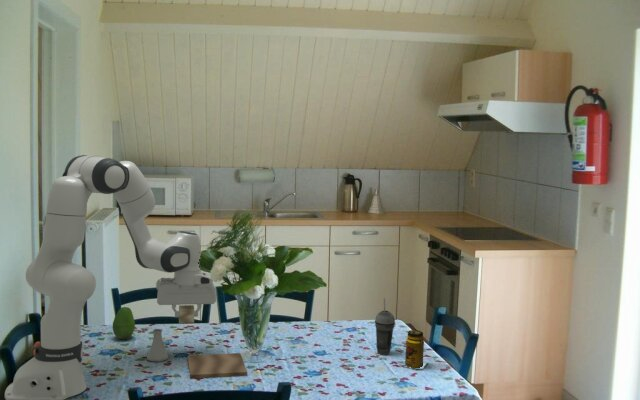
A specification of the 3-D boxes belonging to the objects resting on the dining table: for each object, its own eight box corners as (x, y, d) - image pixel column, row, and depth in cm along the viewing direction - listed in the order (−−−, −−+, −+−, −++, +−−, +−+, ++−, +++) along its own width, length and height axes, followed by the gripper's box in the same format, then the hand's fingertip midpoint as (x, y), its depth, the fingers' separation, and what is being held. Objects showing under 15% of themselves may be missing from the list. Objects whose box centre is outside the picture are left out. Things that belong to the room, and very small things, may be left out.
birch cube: (179, 323, 237) (179, 309, 236) (178, 319, 242) (179, 305, 241) (194, 322, 238) (194, 308, 237) (193, 318, 243) (193, 305, 242)
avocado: (139, 338, 255) (139, 306, 253) (123, 343, 248) (123, 311, 247) (123, 334, 259) (123, 302, 257) (107, 339, 252) (107, 307, 251)
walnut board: (190, 378, 217) (190, 374, 217) (187, 359, 235) (187, 355, 234) (247, 375, 221) (247, 371, 221) (240, 356, 239) (240, 353, 239)
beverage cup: (378, 357, 242) (381, 302, 240) (369, 350, 249) (372, 297, 247) (397, 355, 245) (399, 300, 243) (387, 349, 252) (390, 295, 249)
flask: (162, 363, 230) (163, 334, 229) (142, 361, 231) (142, 332, 230) (171, 356, 237) (171, 328, 236) (152, 354, 238) (152, 326, 237)
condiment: (401, 367, 234) (402, 332, 232) (408, 359, 241) (410, 326, 240) (421, 371, 231) (423, 336, 229) (428, 363, 238) (430, 329, 237)
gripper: (156, 280, 233) (155, 319, 234) (217, 279, 237) (216, 318, 239) (156, 275, 239) (155, 314, 240) (215, 275, 244) (214, 313, 245)
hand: (186, 316), depth 240 cm, fingers closed on birch cube, 5 cm apart
